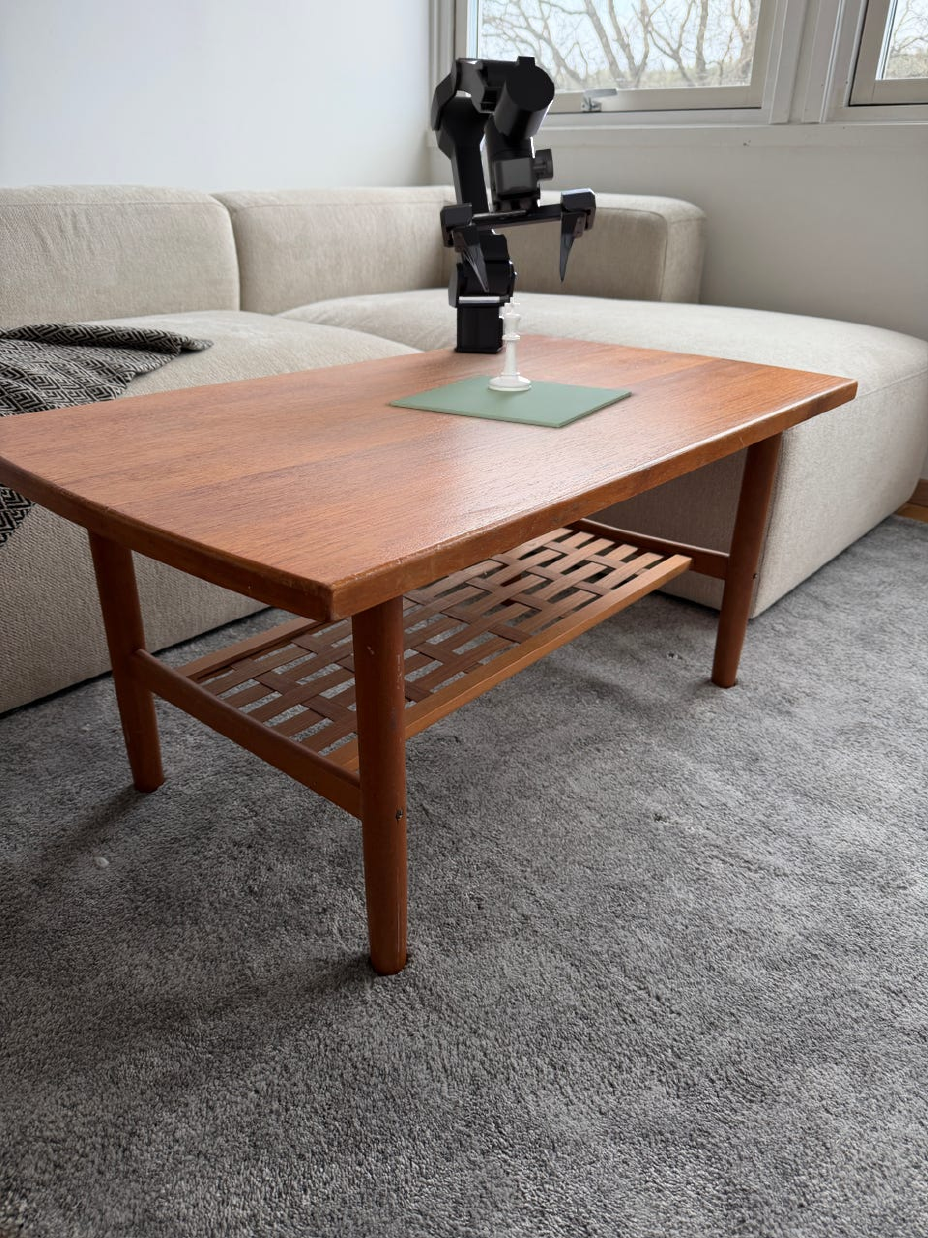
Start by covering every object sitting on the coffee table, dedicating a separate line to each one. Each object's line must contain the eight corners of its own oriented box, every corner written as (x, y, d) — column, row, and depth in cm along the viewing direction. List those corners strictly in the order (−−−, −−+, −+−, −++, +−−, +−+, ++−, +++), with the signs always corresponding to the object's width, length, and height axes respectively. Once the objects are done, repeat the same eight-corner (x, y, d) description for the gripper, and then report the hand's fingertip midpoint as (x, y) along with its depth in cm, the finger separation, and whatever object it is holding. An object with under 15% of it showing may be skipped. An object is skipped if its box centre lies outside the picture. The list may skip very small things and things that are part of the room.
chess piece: (533, 391, 105) (536, 299, 100) (490, 391, 104) (492, 299, 100) (528, 383, 109) (531, 295, 105) (487, 383, 109) (488, 295, 105)
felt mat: (390, 405, 99) (390, 401, 99) (480, 377, 115) (480, 374, 114) (558, 427, 90) (558, 423, 90) (631, 394, 106) (631, 391, 105)
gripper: (430, 134, 104) (444, 266, 103) (593, 113, 104) (608, 246, 103) (437, 184, 115) (450, 305, 115) (584, 166, 115) (598, 287, 114)
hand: (524, 286), depth 111 cm, fingers open, 9 cm apart
